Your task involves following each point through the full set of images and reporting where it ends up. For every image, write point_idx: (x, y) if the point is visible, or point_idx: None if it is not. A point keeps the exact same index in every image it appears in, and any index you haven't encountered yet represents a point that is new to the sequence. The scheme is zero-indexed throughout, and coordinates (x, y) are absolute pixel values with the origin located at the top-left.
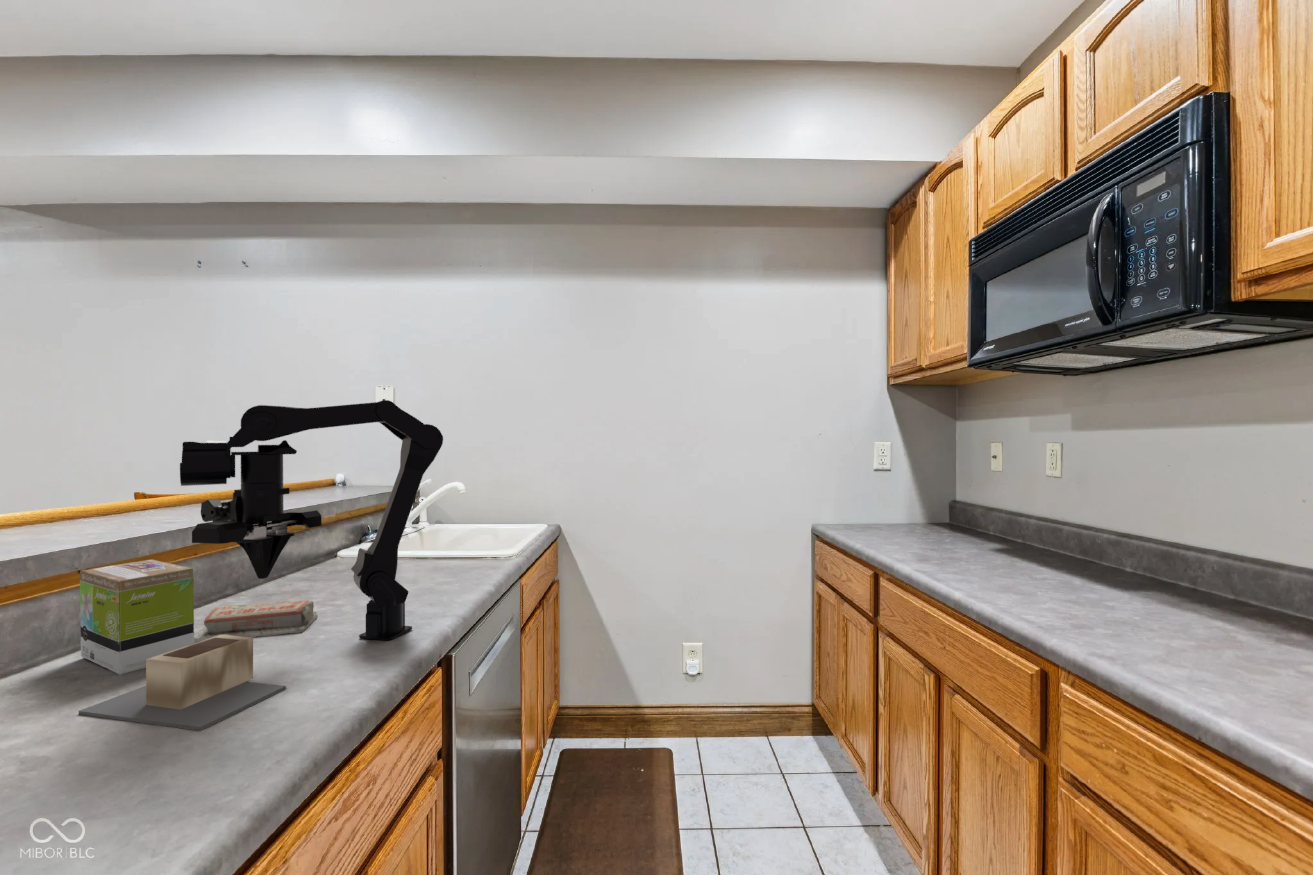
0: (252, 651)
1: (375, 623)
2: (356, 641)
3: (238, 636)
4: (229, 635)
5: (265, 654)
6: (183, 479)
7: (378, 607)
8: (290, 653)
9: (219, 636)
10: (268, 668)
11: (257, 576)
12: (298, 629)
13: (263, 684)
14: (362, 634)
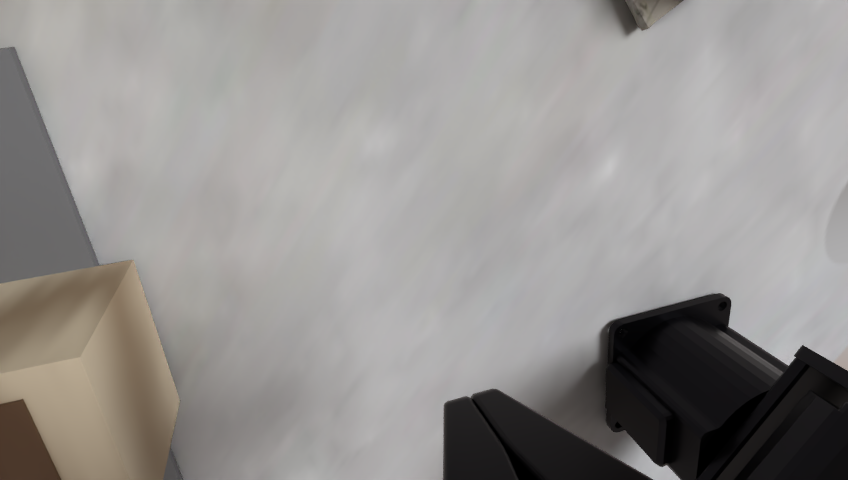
0: (160, 478)
1: (635, 432)
2: (585, 336)
3: (118, 464)
4: (97, 415)
5: (381, 155)
6: None
7: (687, 477)
8: (425, 241)
9: (52, 388)
10: (285, 320)
11: (445, 412)
12: (638, 14)
13: (168, 476)
14: (626, 329)
